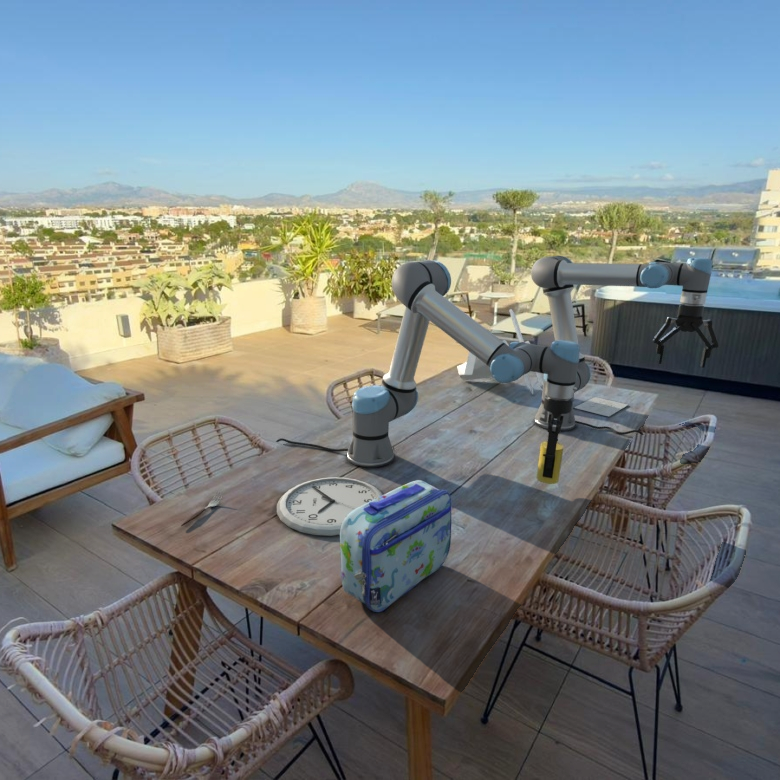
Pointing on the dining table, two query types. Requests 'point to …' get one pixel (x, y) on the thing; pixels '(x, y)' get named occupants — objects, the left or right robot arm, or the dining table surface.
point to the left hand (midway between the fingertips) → (548, 471)
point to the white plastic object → (480, 370)
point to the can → (556, 465)
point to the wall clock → (323, 504)
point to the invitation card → (601, 406)
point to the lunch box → (394, 543)
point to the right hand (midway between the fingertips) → (680, 364)
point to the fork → (211, 504)
